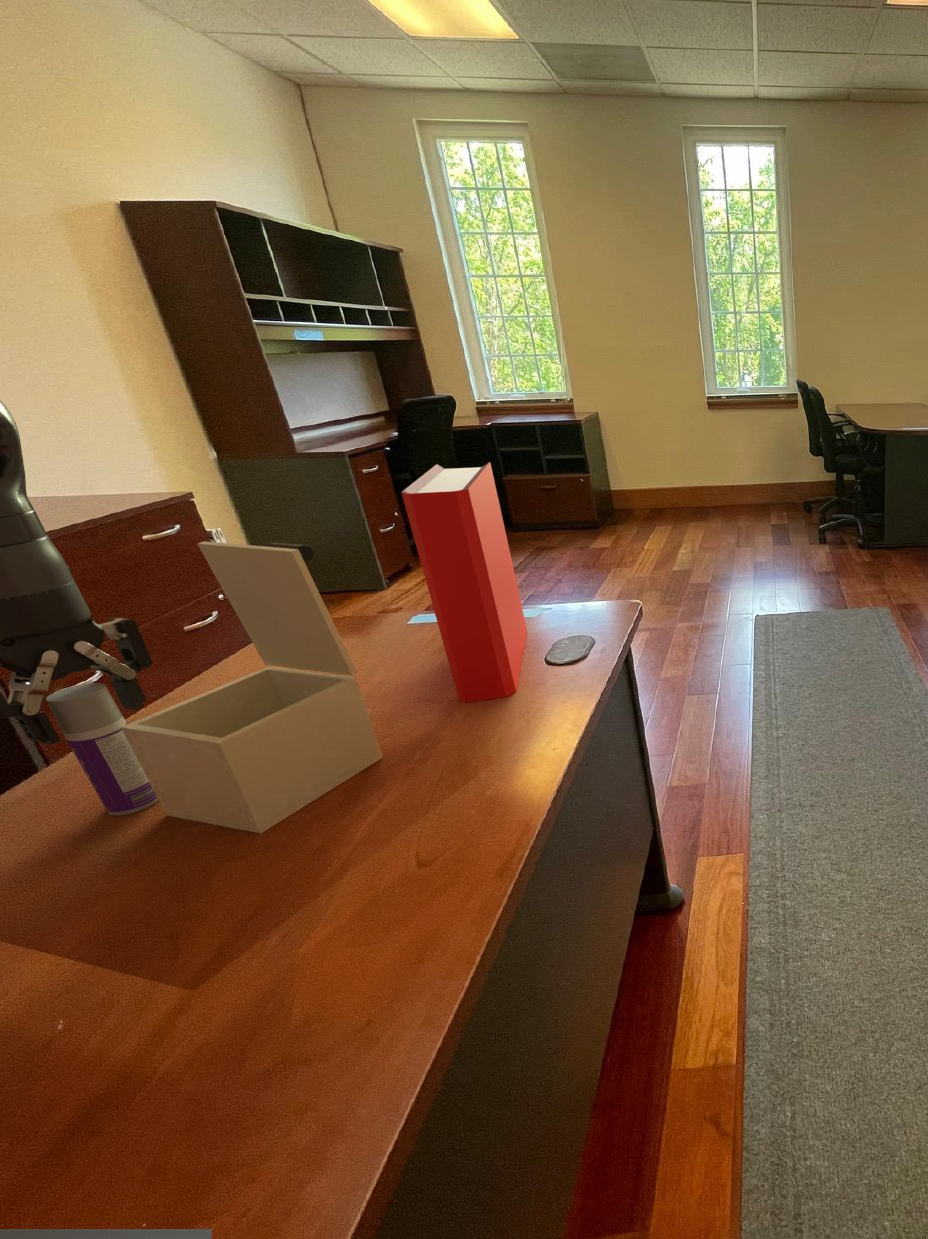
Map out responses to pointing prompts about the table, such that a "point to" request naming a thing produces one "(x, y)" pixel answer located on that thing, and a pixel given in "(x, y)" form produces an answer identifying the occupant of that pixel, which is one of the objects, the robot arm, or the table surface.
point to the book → (469, 578)
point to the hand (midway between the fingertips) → (93, 724)
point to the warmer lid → (279, 605)
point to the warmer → (255, 747)
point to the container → (102, 747)
